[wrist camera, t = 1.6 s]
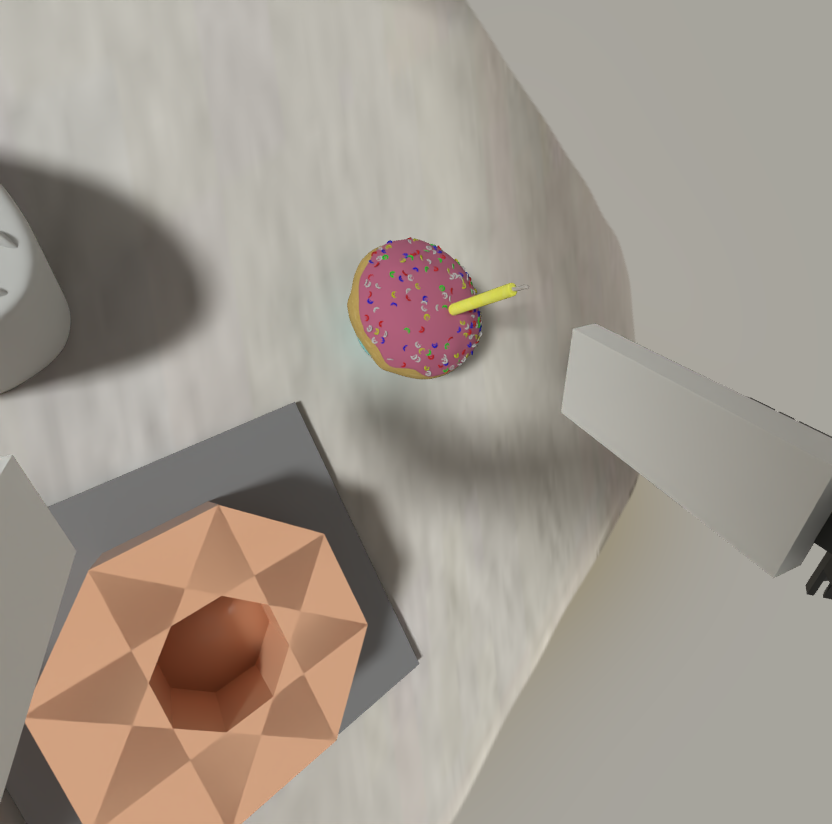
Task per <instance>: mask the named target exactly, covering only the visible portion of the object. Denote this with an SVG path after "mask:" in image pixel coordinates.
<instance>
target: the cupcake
mask: <svg viewBox="0 0 832 824" xmlns="http://www.w3.org/2000/svg"><path fill="white" fill-rule="evenodd" d="M437 247H438V248H437ZM437 247H436V245H433V244H429V243H426V242H424V241H421V240H418V239H411V237H410V238H408V239H405V240H398V241H393V242H392V241H391V240H390V241H388V242H387V244H385V245H383V246H380V247H378V248H376V249H374V250H372V251H371V252H369V253H368V254H367V255H366V256H365V257H364V258H363V259H362V261H361V262H360V264H359V266H358V268H357V270H356V273H355V275H354V279H353V284H352V290H351V294H350V297H349V299H348V303H347V307H348V313H349V318H350V321H351V324H352V326H353V328H354V331H355V333H356V335H357V337H358V340H359V342H360V344H361V346H362V347H363V349H364V350H365V351H366V352H367V353H368V355H370V356H371V357H372V358H373V360H374V361H375V363H376V364H377V365H378V366H379V367H380V368H382V369H383V370H386V371H389V372H392V373H396V374H399V375H402V376H405V377H410V378H415V379H432V378H437V377H440V376H443V375H445V374H447V373H449V372H451V371H453V370H454V369H455V368H457V367H458V366H460V365H462V363H463V362H465V361H466V359H467V357H468V356H469V355H470V354H472V355H473V349H474V348H475V347H476V346H478V345H476V344H477V343H478V342H479V341H478V340H479V339H480V336H481V335H482V332H480V331H481V327H482V326H481V325H482V321H481V320H480V319H481V318H482V316H481V312H480V311H479V310H480V307H482V306H485V305H488V304H491V303H494V302H497V301H500V300H503V299H506V298H509V297H512V296H515V295H516V293H517V291H520V290H523V289H529V286H528V285H521V286H518V287H516V285H515V284H514V283H509V284H506V285H503V286H500V287H498V288H495V289H492V290H489V291H486V292H484V293H481V294H478V295H476V293H477V290H476V289H475V288H473V284H472V282H471V278H470V277H469V274H468V273H467V272H465V268H464V267H463V266H462V267H461V266H460V264H459V262H458V260H457V259H455V260H454V259H453V258H452V257H451V256H449V255H448V254H447V253H445V252H444V251H442V250H441V248H440V247H439V246H437ZM456 261H457V262H456ZM475 291H476V292H475ZM480 323H481V324H480ZM479 333H481V335H480V334H479ZM479 335H480V336H479ZM477 341H478V342H477Z"/></svg>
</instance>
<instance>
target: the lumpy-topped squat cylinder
mask: <svg viewBox="0 0 832 824" xmlns="http://www.w3.org/2000/svg"><path fill="white" fill-rule="evenodd" d="M70 326H71V316H70V310H69V307H68V304H67V301H66V299H65V296H64V294H63V292H62V290H61V288H60V286H59V284H58V282H57V280H56V278H55V276H54V274H53V272H52V270H51V268H50V266H49V264H48V262H47V260H46V258H45V256H44V254H43V252H42V249H41V247H40V245H39V243H38V241H37V239H36V237H35V235H34V233H33V231H32V229H31V227H30V225H29V224H28V222H27V220H26V218H25V217H24V215H23V214H22V212H21V211H20V209H19V207H18V206H17V205H16V203H15V202H14V200H13V199H12V197H11V196H10V195H9V193H8V192H7V191H6V189H5V188H4V187H3V186H2V185H1V184H0V394H1V393H3V392H6V391H8V390H10V389H12V388H14V387H16V386H18V385H20V384H21V383H23V382H25V381H26V380H28V379H29V378H31V377H33V376H34V375H35V374H37V373H38V372H40V371H41V370H42V369H44V368H45V367H46V366H47V365H48V364H50V363H51V362H52V361H53V360H54V359H55V358H56V357H57V356H58V354H59V353H60V352H61V351H62V349H63V348H64V346H65V344H66V342H67V339H68V336H69V333H70Z"/></svg>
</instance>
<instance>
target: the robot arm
mask: <svg viewBox="0 0 832 824" xmlns="http://www.w3.org/2000/svg"><path fill="white" fill-rule="evenodd" d="M561 413H562V414H564V415H565V416H566V417H568V418H569V419H570V420H571V421H573V422H574V423H575V424H577V425H578V426H579V427H580V428H582V429H583V430H584V431H586V432H587V433H588V434H589V435H591V436H592V437H593V438H595V439H596V440H597V441H598V442H600V443H601V444H602V445H603V446H605V447H606V448H607V449H609V450H610V451H611V452H612V453H614V454H615V455H616V456H618V457H619V458H620V459H621V460H623V461H624V462H625V463H627V464H628V465H629V466H630V467H632V468H633V469H634V470H636V471H637V472H638V473H639V474H641V475H642V476H643V477H644V478H646V479H647V480H648V481H650V482H651V483H652V484H654V485H655V486H656V487H658V488H659V489H660V490H661V491H663V492H664V493H665V494H666V495H668V496H669V497H670V498H671V499H673V500H674V501H675V502H677V503H678V504H679V505H681V506H682V507H683V508H684V509H686V510H687V511H688V512H689V513H691V514H692V515H693V516H695V517H696V518H697V519H698V520H700V521H701V522H702V523H703V524H705V525H706V526H707V527H709V528H710V529H711V530H713V531H714V532H715V533H717V534H718V535H719V536H720V537H721V538H723V539H724V540H725V541H727V542H728V543H729V544H731V545H732V546H733V547H734V548H736V549H737V550H738V551H739V552H741V553H742V554H743V555H745V556H746V557H747V558H748V559H750V560H751V561H752V562H753V563H755V564H756V565H757V566H759V567H760V568H762V570H764V571H765V572H766V573H768V574H769V575H770V576H772V577H773V578H775V577H777V576H779V575H781V574H783V573H785V572H787V571H789V570H791V569H793V568H796V567H797V566H799V565H801V564H802V562H803V560H804V559H805V557H806V555H807V554H808V552H809V550H810V549H811V547H812V546H813V544H814V543H816V544H817V545H819V546H820V547H822V548H823V549H825V550H826V551H827V552H826V554H825V556H824V557H823V559H822V560H821V562H820V563H819V565H818V567H817V568H816V570H815V571H814V573H813V574H812V576H811V578H810V579H809V581H808V582H807V584H806V591H807V594H809V595H814V594H815V593H816V591H817V590H818V588H819V587H820V585H821V584H822V582H823V581H829V582H830V584H829V585H828V587H827V588H826V590H825V592H824V594H823V598H829V599H832V437H831V436H829V435H827V434H825V433H823V432H821V431H819V430H816V429H814V428H812V427H810V426H808V425H806V424H804V423H802V422H798V421H796V420H795V419H794V418H792V417H790V416H788V415H785V414H783V413H781V412H777V411H775V409H773V408H771V407H769V406H767V405H765V404H763V403H761V402H759V401H757V400H754V399H752V398H749V397H746V396H744V395H742V394H740V393H738V392H736V391H734V390H732V389H730V388H728V387H725V386H723V385H721V384H719V383H717V382H715V381H713V380H711V379H709V378H707V377H705V376H703V375H701V374H699V373H696V372H694V371H693V370H690V369H688V368H686V367H684V366H682V365H680V364H678V363H676V362H674V361H672V360H670V359H668V358H666V357H664V356H662V355H659V354H658V353H655V352H653V351H651V350H649V349H647V348H645V347H643V346H641V345H639V344H637V343H635V342H633V341H631V340H629V339H627V338H625V337H623V336H620V335H618V334H616V333H614V332H612V331H610V330H608V329H606V328H604V327H602V326H600V325H598V324H596V323H595V324H590V325H586V326H582V327H577V328H573V332H572V338H571V345H570V352H569V359H568V366H567V373H566V380H565V387H564V394H563V401H562V408H561ZM75 553H76V550H75V548H74V547H73V545H72V544H71V542H70V541H69V539H68V538H67V536H66V535H65V533H64V532H63V530H62V529H61V527H60V526H59V524H58V523H57V521H56V520H55V518H54V517H53V515H52V514H51V512H50V510H49V509H48V507H47V506H46V504H45V503H44V501H43V500H42V498H41V497H40V495H39V494H38V492H37V491H36V489H35V488H34V486H33V485H32V483H31V482H30V480H29V479H28V477H27V476H26V474H25V473H24V471H23V470H22V468H21V467H20V465H19V464H18V462H17V461H16V459H15V458H14V456H13V455H8V456H3V457H0V802H1V799H2V796H3V792H4V789H5V786H6V782H7V779H8V776H9V773H10V769H11V766H12V763H13V759H14V756H15V753H16V749H17V746H18V743H19V739H20V736H21V733H22V729H23V726H24V723H25V719H26V716H27V713H28V709H29V706H30V703H31V699H32V696H33V693H34V689H35V686H36V683H37V679H38V676H39V673H40V670H41V666H42V663H43V660H44V656H45V653H46V650H47V646H48V643H49V640H50V636H51V633H52V630H53V626H54V623H55V620H56V616H57V613H58V610H59V606H60V603H61V600H62V596H63V593H64V590H65V586H66V583H67V580H68V576H69V573H70V570H71V567H72V563H73V560H74V557H75Z"/></svg>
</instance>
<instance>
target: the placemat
mask: <svg viewBox="0 0 832 824" xmlns="http://www.w3.org/2000/svg"><path fill="white" fill-rule="evenodd" d="M207 501H209V502H212V503H215V504H219V505H222V506H226V507H230V508H233V509H237V510H241V511H244V512H248V513H251V514H255V515H259V516H262V517H266V518H270V519H273V520H277V521H281V522H284V523H288V524H291V525H295V526H299V527H303V528H306V529H310V530H313V531H317V532H320V533H323V534H324V535H325V537H326V539H327V541H328V543H329V545H330V547H331V549H332V551H333V553H334V555H335V557H336V560H337V562H338V564H339V566H340V568H341V570H342V572H343V574H344V576H345V578H346V580H347V582H348V584H349V586H350V589H351V591H352V593H353V595H354V597H355V599H356V601H357V603H358V605H359V607H360V609H361V611H362V613H363V615H364V618H365V620H366V622H367V624H368V626H367V629H366V633H365V637H364V640H363V644H362V648H361V651H360V655H359V659H358V663H357V666H356V670H355V674H354V677H353V681H352V685H351V688H350V692H349V696H348V700H347V703H346V707H345V711H344V714H343V718H342V722H341V725H340V729H339V733H338V734H340V733H341V732H342V731H343V730H344V729H345V728H346V727H348V726H349V725H350V724H351V723H352V722H353V721H354V720H356V719H357V718H358V717H359V716H360V715H361V714H362V713H364V712H365V711H366V710H367V709H368V708H369V707H370V706H372V705H373V704H374V703H375V702H376V701H377V700H378V699H380V698H381V697H382V696H383V695H384V694H385V693H386V692H388V691H389V690H390V689H391V688H392V687H393V686H395V685H396V684H397V683H398V682H399V681H400V680H401V679H403V678H404V677H405V676H406V675H407V674H408V673H409V672H411V671H412V670H413V669H414V668H415V667H416V666H417V665H419V662H418V660H417V658H416V656H415V654H414V652H413V650H412V647H411V645H410V643H409V641H408V639H407V637H406V635H405V633H404V631H403V629H402V626H401V624H400V622H399V620H398V618H397V616H396V614H395V612H394V610H393V608H392V605H391V603H390V601H389V599H388V597H387V595H386V593H385V591H384V589H383V586H382V584H381V582H380V580H379V578H378V576H377V574H376V572H375V570H374V568H373V565H372V563H371V561H370V559H369V557H368V555H367V553H366V551H365V549H364V547H363V544H362V542H361V540H360V538H359V536H358V534H357V532H356V530H355V528H354V525H353V523H352V521H351V519H350V517H349V515H348V513H347V511H346V509H345V507H344V504H343V502H342V500H341V498H340V496H339V494H338V492H337V490H336V488H335V485H334V483H333V481H332V479H331V477H330V475H329V473H328V471H327V469H326V467H325V464H324V462H323V460H322V458H321V456H320V454H319V452H318V450H317V448H316V446H315V443H314V441H313V439H312V437H311V435H310V433H309V431H308V429H307V427H306V424H305V422H304V420H303V418H302V416H301V414H300V412H299V410H298V408H297V406H296V403H295V402H294V403H291V404H289V405H287V406H284V407H282V408H279V409H277V410H275V411H272V412H270V413H268V414H265V415H263V416H261V417H258V418H256V419H254V420H251V421H249V422H247V423H244V424H242V425H240V426H237V427H235V428H232V429H230V430H228V431H225V432H223V433H221V434H218V435H216V436H214V437H211V438H209V439H207V440H204V441H202V442H200V443H197V444H195V445H192V446H190V447H188V448H185V449H183V450H181V451H178V452H176V453H174V454H171V455H169V456H167V457H164V458H162V459H160V460H157V461H155V462H152V463H150V464H148V465H145V466H143V467H141V468H138V469H136V470H134V471H131V472H129V473H127V474H124V475H122V476H120V477H117V478H115V479H113V480H110V481H108V482H105V483H103V484H101V485H98V486H96V487H94V488H91V489H89V490H87V491H84V492H82V493H80V494H77V495H75V496H73V497H70V498H68V499H65V500H63V501H61V502H58V503H56V504H54V505H51V506H49V507H48V509H49V510H50V512H51V514H52V515H53V517H54V518H55V520H56V521H57V523H58V524H59V526H60V527H61V529H62V530H63V532H64V533H65V535H66V536H67V538H68V539H69V541H70V542H71V544H72V545H73V547H74V548H75V550H76V553H75V557H74V560H73V563H72V567H71V570H70V573H69V576H68V580H67V583H66V586H65V590H64V593H63V596H62V600H61V603H60V606H59V610H58V613H57V616H56V620H55V623H54V626H53V630H52V633H51V636H50V640H49V643H48V646H47V650H46V653H45V656H44V660H43V663H42V666H41V670H40V673H39V676H38V679H37V683H38V681H39V678H40V676H41V674H42V672H43V670H44V667H45V665H46V663H47V661H48V659H49V656H50V654H51V652H52V650H53V648H54V645H55V643H56V641H57V639H58V637H59V634H60V632H61V630H62V628H63V626H64V623H65V621H66V619H67V617H68V615H69V612H70V610H71V608H72V606H73V604H74V601H75V599H76V597H77V595H78V593H79V590H80V588H81V586H82V584H83V582H84V579H85V577H86V575H87V573H88V570H89V569H90V568H91V566H92V565H93V564H94V563H95V562H96V560H97V559H98V558H99V557H100V555H101V554H102V553H104V552H106V551H108V550H110V549H112V548H114V547H116V546H118V545H120V544H122V543H124V542H126V541H128V540H130V539H132V538H134V537H137V536H139V535H141V534H143V533H145V532H147V531H149V530H151V529H153V528H155V527H157V526H159V525H161V524H163V523H165V522H167V521H169V520H171V519H173V518H175V517H177V516H179V515H181V514H183V513H185V512H187V511H189V510H191V509H193V508H195V507H197V506H199V505H201V504H203V503H205V502H207ZM37 683H36V685H37ZM35 687H36V686H35ZM5 787H6V789H7V791H8V792H9V794H10V796H11V798H12V799H13V801H14V803H15V804H16V806H17V808H18V810H19V811H20V813H21V815H22V816H23V818H24V820H25V822H26V823H27V824H82V822H81V820H80V819H79V817H78V815H77V813H76V812H75V810H74V808H73V806H72V805H71V803H70V801H69V799H68V797H67V796H66V794H65V792H64V790H63V789H62V787H61V785H60V783H59V782H58V780H57V778H56V776H55V775H54V773H53V771H52V769H51V768H50V766H49V764H48V762H47V761H46V759H45V757H44V755H43V753H42V752H41V750H40V748H39V746H38V745H37V743H36V741H35V739H34V738H33V736H32V734H31V732H30V731H29V729H28V727H27V725H26V724H25V723H24V726H23V729H22V733H21V736H20V739H19V743H18V746H17V749H16V753H15V756H14V759H13V763H12V766H11V769H10V773H9V776H8V779H7V782H6V786H5Z"/></svg>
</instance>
